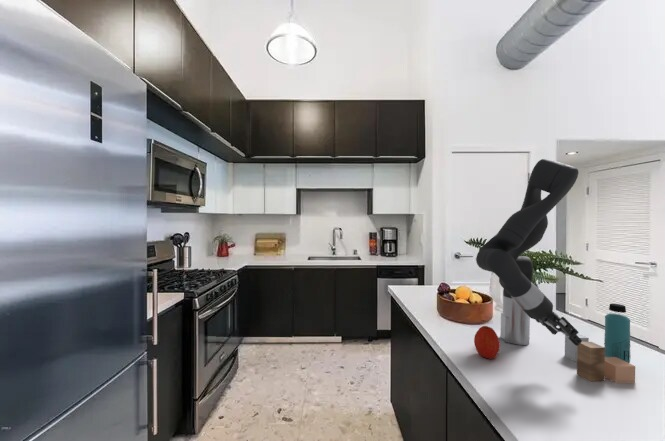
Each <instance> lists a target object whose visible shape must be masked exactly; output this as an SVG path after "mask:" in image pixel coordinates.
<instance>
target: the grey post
mask: <svg viewBox="0 0 665 441" xmlns="http://www.w3.org/2000/svg"><path fill="white" fill-rule="evenodd" d="M577 336H578V337H579V338H580V339H581V340H582V342H590V341H589V340H590V339H589V337H588V336H586V335H583V334H581V333H580V332H579V333H578V334H577ZM577 348H578V346H576V345H574V344H573V343H572V342H571V341H570V340H569V339H568V338H567V337H566V336H565V335H564V357H566V358H568V359H569V360H572V361H573V362H576V363H577Z"/></svg>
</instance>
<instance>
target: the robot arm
mask: <svg viewBox="0 0 665 441" xmlns="http://www.w3.org/2000/svg"><path fill="white" fill-rule="evenodd" d="M578 177H579V169H578V167H575V166H572V165H570V164H568V163H567V164H566V163H563V162H559V161H556V160H552V159H549V158H542V159H540V160H539V161H537V162H536V163H535V165H534V167H533V168H532V170H531V173H530V175H529V179H528V183H527V185H526V186H527V187H526V190H525V191H526V192H525V196H524V198H523V202H522V205H521V208H520V210H518V211H516V212H514V213H512V214H511V215H510V216H509V218H508V219H506V221H505V222H504V224H503V225H502V227H501V228H500V229H499V231H498V232H497V233H496V234H495V235H493V236H492V237H491V238H490V239H489V240H488V241H487V242H486V243H484V245H483V246H481V248H480V249H479V250H478V253H477V254H476V257H475V262H476V264H477V266H478V267H479V268H480V269H481V270H483V271H488V272H490V273H493V274H495V276H497V277H498V283H499V284H500V286H501V287H502V289H503V290H502V312H501V313H500V338H501V339H502V340H503V341H504V342H505V343H508V344H514V345H518V346H519V345H520V346H527V345H529V344H530V339H531V338H530V335H531V334H530V330H531V329H530V328H531V327H530V326H531V320H530V319H533V320H535V321H536V322H537V323H538V324H539V323H540V324H541V325H542V326H543V327H545V328H546V329H547V330H548V331H549V332H550V333H551V335H553V336H554V335H556V334H558V333H562V335H564V337H565V336H566V337H567V338H568V339H569V340H570V341H571V342H572V343H573V344H574V345H576V346H578V345H579V344H580V343H581V342H582V340H581V339H580V338H579V337H578V336H577V334H578V333H579V334H580V332H579V330H577V329H576V328H575V327H574V326H573V325H572V324H571V323H570V321H568V320H567V319H566V318H565V317H564V316H561V317H560V316H559V315H558V313H556V312H555V311H553V310H554V305H553V304H554V303H553V302H552V301H551V300H550V299H549V298H548V297H547V296H546V295H545V294H544V292H542V291H541V290H540V288H539V287H538V286H536V285H535V284H534V283H533V276H534V275H533V273H534V265H533V261H532V259H531V257H529V256H526V255H522V254H524V253H526V252H527V251H528V250H530V249H532V248H533V247H535V246H536V245H537V244H539V242H541V241H542V239H543V237H544V235H545V232H546V230H547V228H548V225H549V220H548V216H547V215H548V213H550V212H551V210H553V209H554V207H555V206H557V205H558V204H559V203H560V201H561V200H563V198H564V197H565V196H566V195H567V194H568V193H569V191H571V189H572V187H574V185H575V184H576V182H577V179H578ZM542 191H543V192H546V193H549V194H548V195H547V196H546V197H544V198H542Z"/></svg>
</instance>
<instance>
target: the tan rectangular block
mask: <svg viewBox="0 0 665 441" xmlns="http://www.w3.org/2000/svg"><path fill="white" fill-rule="evenodd" d="M604 347H605V346H602V345H599V344H598V343H596V342H593V341H589V342H581V343H580V344H579V345H578V348H577V362H576V374H577V376H579V377H581V378H582V379H584V380H586V381H588V382H597V383H599V382H605V377H604V371H605V348H604Z"/></svg>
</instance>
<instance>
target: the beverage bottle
mask: <svg viewBox="0 0 665 441" xmlns="http://www.w3.org/2000/svg"><path fill="white" fill-rule="evenodd" d="M608 311H611V312H610V313H609V312H608V313H607V314H606V315H604V337H603V339H604V342H603V345H604V346H603V347H604V348H605V357H617V358H619V359H621V360H623V361H625V362H628V363H630V362H631V356H632V354H631V346H632V345H631V319H630V318H629V317H628V316H627V315H624V314H621V313H627V309H626V306H625V305H624V304H620V303H609V306H608ZM630 364H631V363H630Z"/></svg>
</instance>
